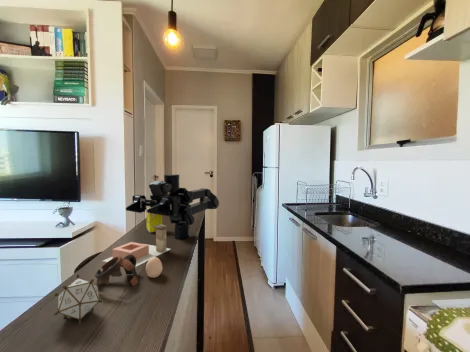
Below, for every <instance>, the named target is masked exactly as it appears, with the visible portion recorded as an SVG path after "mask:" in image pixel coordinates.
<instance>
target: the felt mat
mask: <svg viewBox="0 0 470 352" xmlns="http://www.w3.org/2000/svg"><path fill="white" fill-rule="evenodd" d="M145 244H146V243H145ZM146 245H149V254H147V255H145V256H143V257H141V258H138V259H136V267H139V266H140V265H142V264H144V263H146V262H148V261H149V260H150V259H151V258H153V257H158V256H160V255H162V254H164V253H167V252H168V251H170V250H171V248H168V247H166V251H164V252H157V251H156V245H153V244H152V245H151V244H146ZM111 259H113V256H110V257H108V258H106V259H104V260H102V262H105V263H107V262H108V261H110V260H111Z"/></svg>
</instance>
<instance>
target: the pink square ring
mask: <svg viewBox="0 0 470 352" xmlns="http://www.w3.org/2000/svg"><path fill="white" fill-rule="evenodd" d="M149 245H150V244H148V245H146V243H139V242H135V241H130V242H127V243H125V244H122V245H119V246H117V247H115V248H112V249H111V251H112V257H113V258H115V257H117V256H121V257H122V259H123V258H124V257H125V256H127V255H130V254H132V255H134V256H135V257H136V259H138V258H141V257H143V256H145V255H147V254H149Z"/></svg>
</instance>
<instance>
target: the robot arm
mask: <svg viewBox="0 0 470 352" xmlns="http://www.w3.org/2000/svg"><path fill="white" fill-rule="evenodd" d="M148 188H149V190H150V192H151V194H150V195H149V199H147V197H146V196H145V195H142V194H135V195H132V203H130V204H128V205H127V206H126V207H125V211H127V212H133V213H135V214H136V213H138V214H142V213H145V212H146V208H147V207H148V208H149V209H147V213H152V214H157V215H162V217H164V216H165V217H169V221H170V224H174V236H172V237H171V238H172V239H176V240H183V241H184V240H187V239H188V238H191V237H194V236H193V234H191V231H190V230H191V228H190V226H192V225H193V224H194V223H195V217H194V216H193V215H195V214H196V215H197V214H198V213H201V212H203V211H206V210H216V209H218V207H219V205H220V201H219V199H218V197H217V196H216V195H215V194H214V193H213V192H212V191H211V189H209V188H202V187H201V188H198V189H193V190H188V189H187V188H186V187H180V174H163V180H154V181H153V182H151V183H150V184H149V185H148ZM195 200H199V201H198V202H195V203H193V202H194V201H195Z"/></svg>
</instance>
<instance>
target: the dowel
mask: <svg viewBox="0 0 470 352" xmlns="http://www.w3.org/2000/svg"><path fill="white" fill-rule="evenodd" d="M155 246H156V251H157V252H164V251H166V248H167V225H165V224H162V225H158V226H156V232H155ZM166 252H167V251H166ZM164 253H165V252H164Z"/></svg>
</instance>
